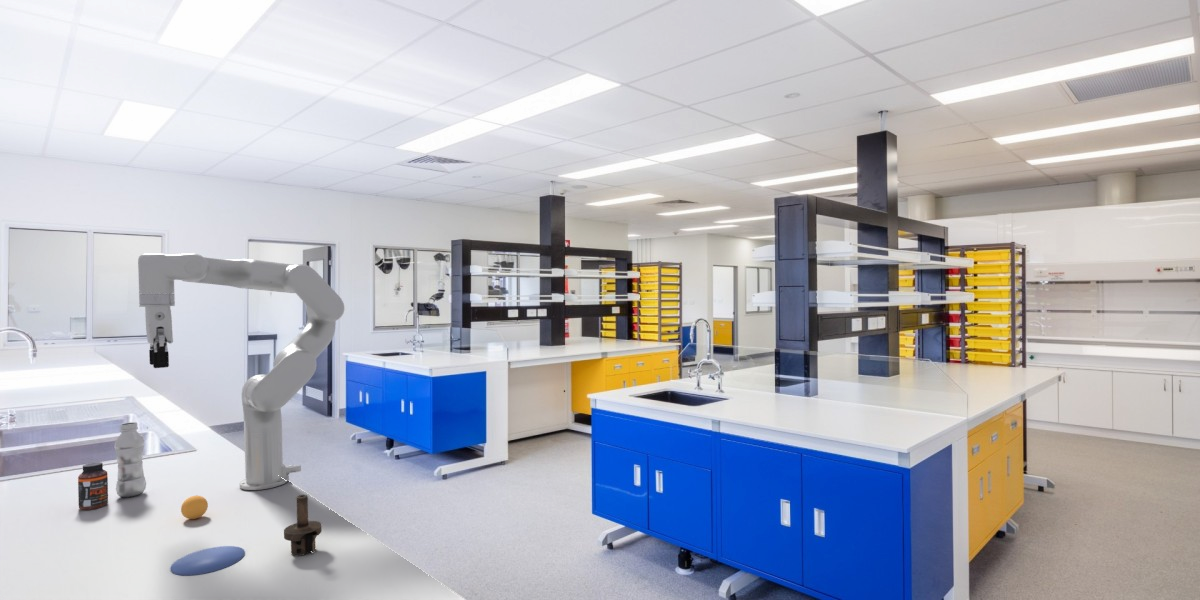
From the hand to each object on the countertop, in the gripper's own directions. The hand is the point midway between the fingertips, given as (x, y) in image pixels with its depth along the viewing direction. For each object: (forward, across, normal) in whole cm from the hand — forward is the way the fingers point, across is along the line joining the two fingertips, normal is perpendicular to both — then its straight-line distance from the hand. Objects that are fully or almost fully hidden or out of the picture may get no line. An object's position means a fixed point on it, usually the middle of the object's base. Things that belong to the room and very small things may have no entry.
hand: (159, 365), depth 159 cm
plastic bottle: (+37, +14, +6) cm, 40 cm away
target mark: (+37, -48, -3) cm, 60 cm away
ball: (+34, -18, -5) cm, 39 cm away
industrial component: (+37, -56, -19) cm, 70 cm away
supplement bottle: (+37, +10, +14) cm, 41 cm away
